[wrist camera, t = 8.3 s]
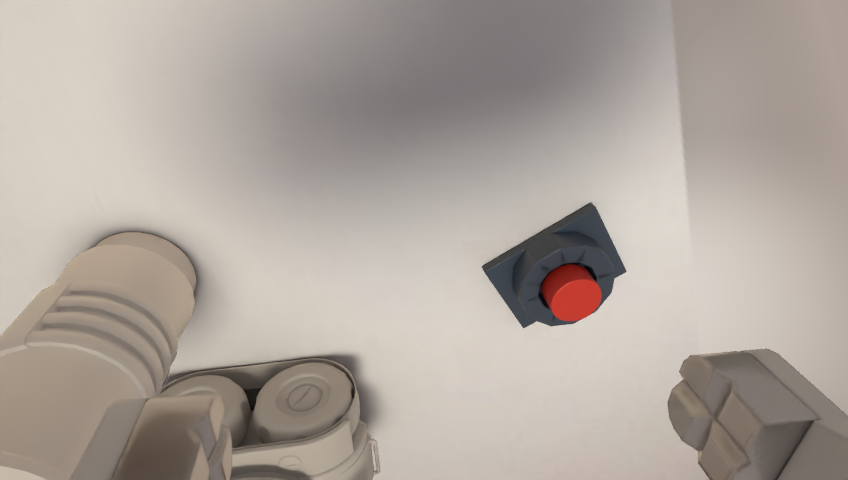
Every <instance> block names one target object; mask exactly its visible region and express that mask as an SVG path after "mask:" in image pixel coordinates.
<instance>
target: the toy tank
mask: <svg viewBox="0 0 848 480" xmlns="http://www.w3.org/2000/svg"><path fill="white" fill-rule="evenodd" d="M255 388H262V389H261V390H260V392H259V394H258V396H257V398H256V405H255V408H254V411H252V412H250V406H249V402H248V399H247V396H246V394H245V392H244V390H247V389H255ZM215 393H217V394H220V395H221V396H222V399H223V403H224V407H225V413H224V417H223V421H222V424H224V425H225V426H226V427H228V428H229V429H230V433H231V438H232V450H233V456H232V469H231V476H230V480H372V479H373V475H376V474H378V473H379V472H380V464H379V455H378V447H377V441H376V440H375V439H370V436H369V435H368V429H367V425H366V424H365V423H363V422H362V421H360V420H359V417H360V402H359V395H358V392H357V387H356V382H355V379H354V377H353V375H352V374H351V373H350V371H349V370H348V369H347V368H345V367H344V366H343V365H341V364H339V363H337V362H335V361H332V360H328V359H321V358H309V359H301V360H292V361H284V362H275V363H267V364H258V365H250V366H242V367H233V368H225V369H216V370H208V371H200V372H195V373H192V374H188V375H185V376H183V377H180V378H178V379H176V380H174V381H172V382H170V383H168V384H166V385H165V386H163V387H162V389H161V392H160V394H159V396H158V397H160V396H178V395H197V394H215ZM371 443H373V445H374V452H375V460H376V468H377V470H376V471H374V465H373V457H372V450H371Z"/></svg>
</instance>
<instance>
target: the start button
mask: <svg viewBox="0 0 848 480" xmlns="http://www.w3.org/2000/svg"><path fill="white" fill-rule="evenodd" d="M542 294H543V297H544V299H545V300H546V302H547V304H548V306H549V307H550V309H551V311H552V313H553V314H554V315H555V316H556V317H557V318H558V319H561V320H563V321H577V320H580V319H583V318H585V317H587V316H589V315H590V314H591V313H592V312H594V311H595V309H596V308H597V307H598V305H599V304H600V301H601V296H602V294H601V289H600V287H599V285H598V284H597V283H596V281H595V280H594V279H593V277H592V276H591V275H590V273H589V272H588V271H587V270H586V269H585V268H584V267H582V266H580V265H576V264H567V265H563V266H560V267H558V268H556V269H554V270H553V271H552V272H550V273H549V274H548V276H547V277H546V278H545V280H544V282H543V285H542Z"/></svg>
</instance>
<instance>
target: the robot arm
mask: <svg viewBox="0 0 848 480" xmlns="http://www.w3.org/2000/svg"><path fill="white" fill-rule="evenodd" d="M679 372H680V374H681V376H682V378H683V380H682V381H681V382H680V383H679V384H677V385H676V386H675V387H674V388H673V389H672V391H671V394H670V397H669V400H668V411H669V418H670V420H671V423H672V425H673V427H674V429H675V431H676V432H677V434H678V435H679V437H680V438H681V440H682V441H683V442H685V443H686V444H688V445H689V446H691V447H693V448H694V449H696V450H697V451H698V464H699V465H700V466H701V468H702V469H703V471H704V472H705V473H706V475H707V476H708V477H709V479H710V480H848V416H847V415H846V414H845V413H844V412H843V411H842V410H840V408H838V407H837V406H836V405H835V404H834V403H833V402H832V401H831V400H829V399H828V398H827V397H826V396H825V395H824V394H823V393H822V392H820V391H819V390H818V389H817V388H816V387H815V386H814V385H813V384H811V383H810V382H809V381H808V380H807V379H806V378H805V377H804V376H803V375H801V374H800V373H799V372H798V371H797V370H796V369H795V368H794V367H792V366H791V365H790V364H789V363H788V362H787V361H786V360H784V359H783V358H782V357H781V356H780V355H779V354H777V353H776V352H774V351H771V350H769V349H757V350H745V351H740V352H737V351H735V352H723V353H712V354H701V355H690V356H689V357H688V358H687V359H686V360H684V361H683V364H682V366H681V368H680V371H679ZM224 413H225V407H224V403H223V399H222V396H221V395H220V394H217V393H215V394H197V395H178V396H160V397H151V398H135V399H117V400H115V401H114V402H113V403H112V404H111V405H110V406H108V408H107V409H106V411H105V412H104V414H103V416H102V418H101V420H100V422H99V424H98V426H97V428H96V430H95V432H94V433H93V435H92V437H91V439H90V441H89V443H88V445H87V447H86V449H85V451H84V452H83V454H82V456H81V458H80V460H79V462H78V464H77V466H76V468H75V470H74V472H73V473H72V475H71V477H70V479H69V480H230V476H231V469H232V456H233V450H232V438H231V433H230V429H229V428H228V427H226V426H225V425H224V424H222V421H223V417H224Z"/></svg>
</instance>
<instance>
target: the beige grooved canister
mask: <svg viewBox="0 0 848 480" xmlns="http://www.w3.org/2000/svg"><path fill="white" fill-rule="evenodd" d="M195 286H196V275H195V270H194V267H193V266H192V264H191V262H190V260H189V258H188V257H187V256H186V255H185V254H184V253H183V252H182V251H181V250H180V249H179V248H178V247H176V246H175V245H173V244H172V243H170V242H169V241H167V240H165V239H162V238H160V237H157V236H155V235H151V234H146V233H141V232H124V233H120V234H116V235H111V236H109V237H108V238H106V239H104V240H102V241H100V242H99V243H98V244H97V245H96V246H95V248H91V249H88V250H86V251H85V252H83V253H81V254H79V255H77V256H76V257H75V258H74V259H73V260H72V261H71V262H70V263H69V264H68V265H67V266H66V268H65V269H64V271H63V272H62V274H61V275H60V277H59V278H58V279H57V281H56V282H55V284H54V285H52V286H50V287H48V288H46V289H44V290H42V291H41V292H40V293H39V294H38V295H37V296H36V297H35V298H34V300H33V301H32V302H31V303H30V304H29V305H28V306H27V307H26V308H25V310H24V311H23V312H22V313H21V314H20V315H19V316H18V317H17V318H16V319H15V321H14V322H13V323H12V324H11V325H10V326H9V327H8V328H7V329H6V331H5V332H4V333H3V334H2V335H1V336H0V480H69V479H70V477H71V475H72V473H73V472H74V470H75V468H76V466H77V464H78V462H79V460H80V458H81V456H82V454H83V452H84V451H85V449H86V447H87V445H88V443H89V441H90V439H91V437H92V435H93V433H94V432H95V430H96V428H97V426H98V424H99V422H100V420H101V418H102V416H103V414H104V412H105V411H106V409H107V408H108V406H110V405H111V404H112V403H113V402H114V401H115V400H117V399H135V398H151V397H158V396H159V394H160V392H161V389H162V386H163V383H164V381H165V379H166V377H167V375H168V373H169V371H170V366H171V364H172V362H173V361H174V359H175V356H176V354H177V346H178V338H179V337H180V335H181V333H182V331H183V330H184V328H185V326H186V325H187V323H188V321H189V319H190V317H191V315H192V314H193V309H194V302H195V300H194V295H193V292H194V290H195Z"/></svg>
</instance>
